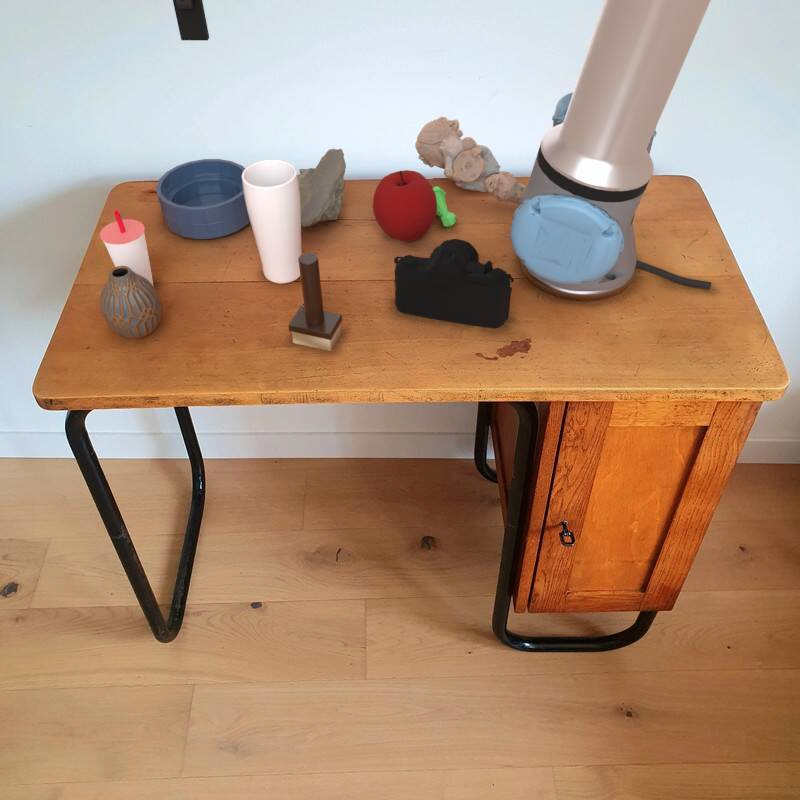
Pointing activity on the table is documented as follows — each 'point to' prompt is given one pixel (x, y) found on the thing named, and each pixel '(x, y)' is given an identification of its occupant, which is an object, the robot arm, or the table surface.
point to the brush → (314, 310)
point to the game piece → (443, 208)
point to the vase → (130, 303)
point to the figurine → (466, 161)
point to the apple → (405, 205)
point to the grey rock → (322, 189)
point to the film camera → (453, 286)
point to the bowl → (203, 198)
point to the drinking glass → (275, 217)
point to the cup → (127, 245)
